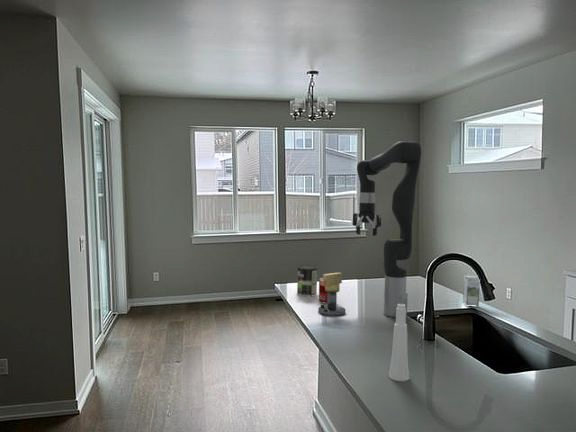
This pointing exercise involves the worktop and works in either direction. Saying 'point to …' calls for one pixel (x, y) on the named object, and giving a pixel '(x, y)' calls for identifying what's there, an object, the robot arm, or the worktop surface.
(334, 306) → the round metal flange
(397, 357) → the cosmetic bottle
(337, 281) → the door handle
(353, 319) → the worktop surface
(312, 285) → the coffee can
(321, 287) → the canned food
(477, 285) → the syrup box
